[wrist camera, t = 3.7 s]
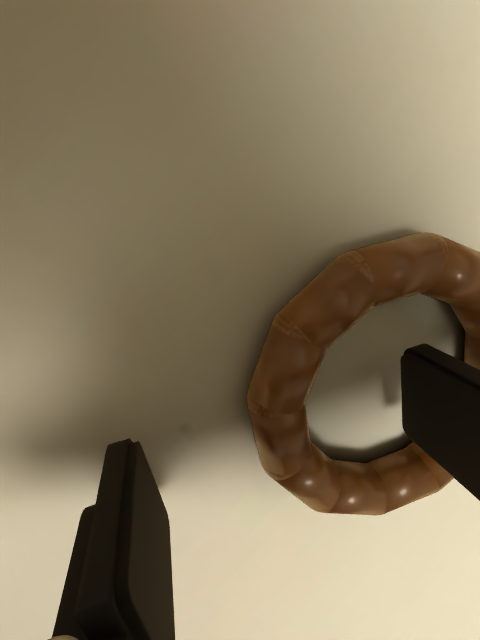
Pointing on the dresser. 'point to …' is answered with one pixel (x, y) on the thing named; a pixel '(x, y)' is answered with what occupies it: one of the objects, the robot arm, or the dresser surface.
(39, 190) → the dresser surface
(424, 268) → the ring
